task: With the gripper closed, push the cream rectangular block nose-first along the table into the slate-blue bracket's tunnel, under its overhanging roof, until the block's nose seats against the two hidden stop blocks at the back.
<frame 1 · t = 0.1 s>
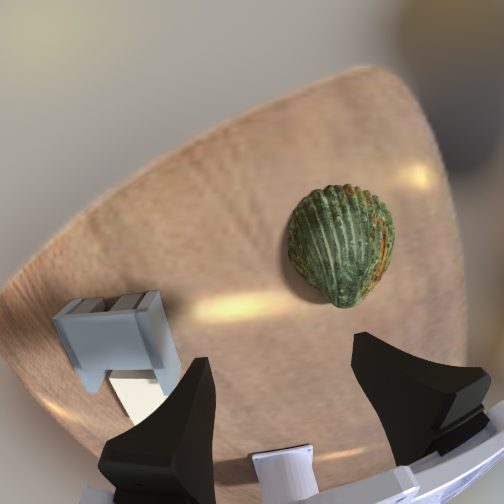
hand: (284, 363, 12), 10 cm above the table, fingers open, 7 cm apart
bracket: (125, 334, 22), on the table
cream rectangular block: (150, 391, 25), on the table
seashell: (342, 243, 22), on the table
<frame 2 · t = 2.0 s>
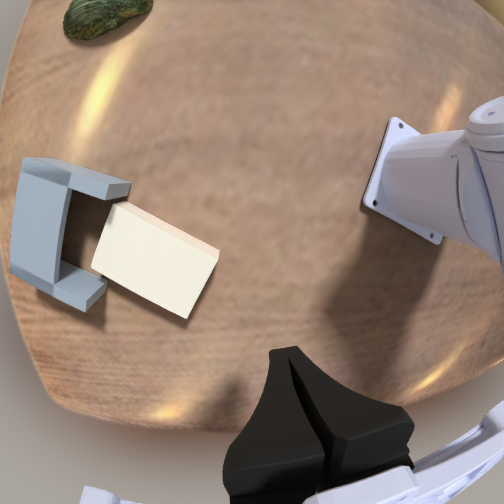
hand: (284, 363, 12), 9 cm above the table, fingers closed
bracket: (75, 224, 18), on the table
cream rectangular block: (158, 253, 20), on the table
seashell: (113, 2, 14), on the table
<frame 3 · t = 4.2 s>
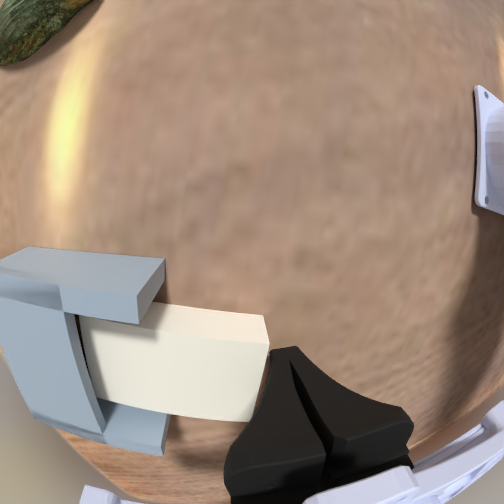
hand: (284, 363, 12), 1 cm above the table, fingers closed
bracket: (96, 334, 12), on the table
cream rectangular block: (176, 346, 13), on the table, touching gripper
seashell: (51, 3, 7), on the table
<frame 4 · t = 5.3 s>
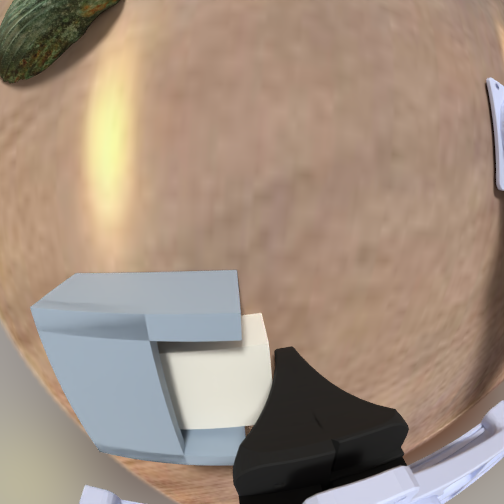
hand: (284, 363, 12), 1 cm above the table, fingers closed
bracket: (162, 354, 13), on the table
cream rectangular block: (188, 362, 13), on the table, touching bracket, gripper
seashell: (58, 13, 8), on the table
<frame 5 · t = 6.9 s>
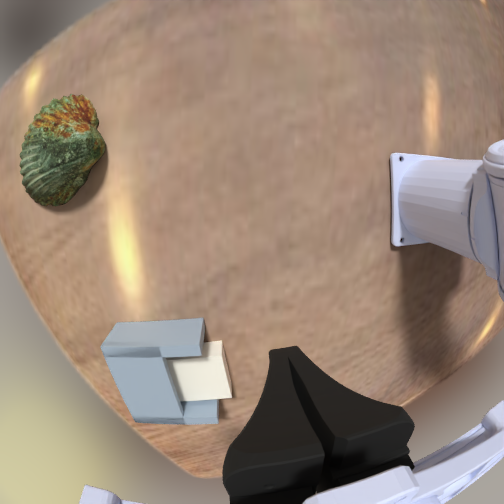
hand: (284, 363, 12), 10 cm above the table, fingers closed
bracket: (169, 362, 23), on the table
cream rectangular block: (184, 364, 24), on the table
seashell: (61, 149, 18), on the table
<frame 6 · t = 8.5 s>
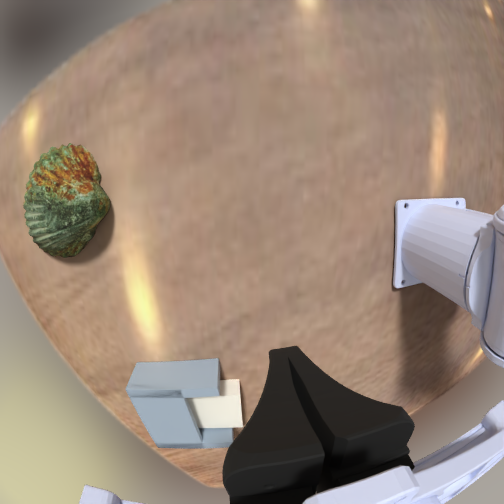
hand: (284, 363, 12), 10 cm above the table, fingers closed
bracket: (187, 394, 24), on the table
cream rectangular block: (201, 395, 25), on the table
seashell: (65, 201, 19), on the table
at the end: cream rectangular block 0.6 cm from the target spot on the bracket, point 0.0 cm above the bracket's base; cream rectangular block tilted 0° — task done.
